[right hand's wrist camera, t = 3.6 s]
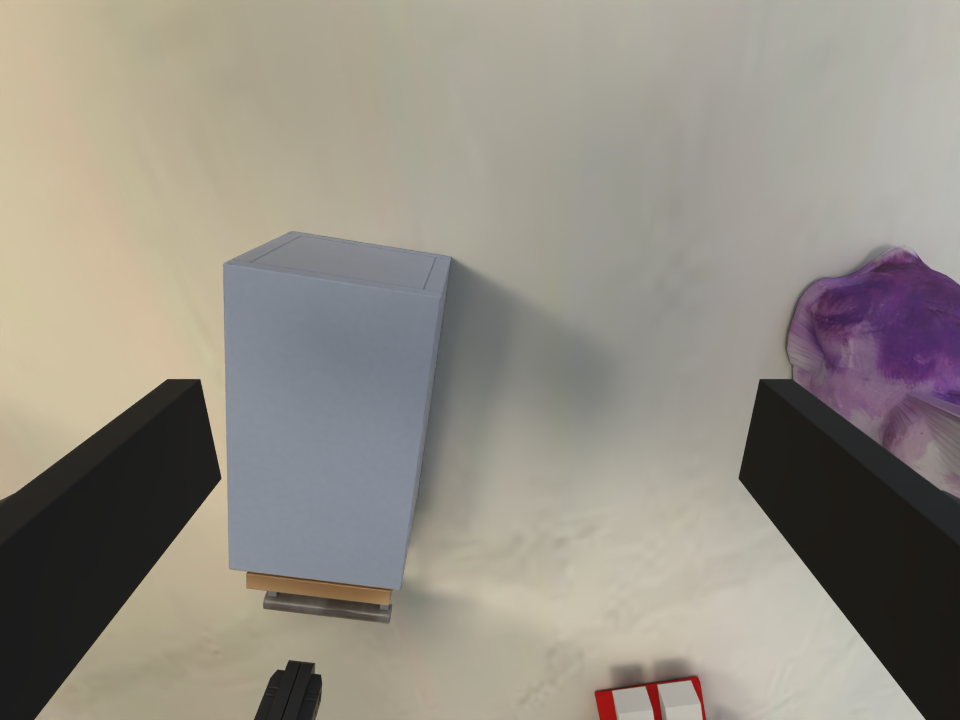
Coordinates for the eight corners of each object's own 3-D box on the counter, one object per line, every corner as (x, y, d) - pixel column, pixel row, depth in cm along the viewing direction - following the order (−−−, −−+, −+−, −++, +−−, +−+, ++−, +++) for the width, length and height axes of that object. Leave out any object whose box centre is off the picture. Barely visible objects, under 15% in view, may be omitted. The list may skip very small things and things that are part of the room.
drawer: (398, 577, 42) (381, 664, 35) (285, 563, 41) (246, 649, 34) (433, 313, 34) (421, 357, 27) (294, 291, 33) (244, 330, 26)
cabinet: (417, 493, 40) (400, 591, 31) (284, 475, 39) (228, 569, 31) (451, 256, 33) (441, 297, 24) (291, 230, 33) (222, 262, 24)
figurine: (812, 431, 38) (1007, 599, 24) (745, 320, 35) (924, 440, 21) (945, 355, 35) (1246, 491, 22) (887, 230, 32) (1193, 296, 18)
